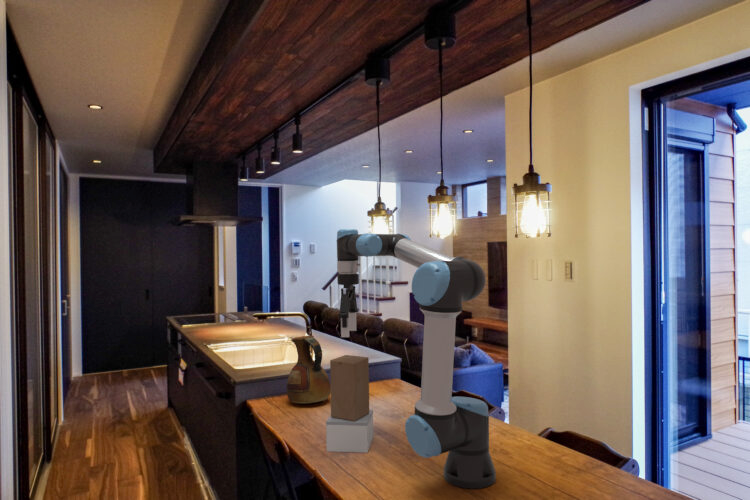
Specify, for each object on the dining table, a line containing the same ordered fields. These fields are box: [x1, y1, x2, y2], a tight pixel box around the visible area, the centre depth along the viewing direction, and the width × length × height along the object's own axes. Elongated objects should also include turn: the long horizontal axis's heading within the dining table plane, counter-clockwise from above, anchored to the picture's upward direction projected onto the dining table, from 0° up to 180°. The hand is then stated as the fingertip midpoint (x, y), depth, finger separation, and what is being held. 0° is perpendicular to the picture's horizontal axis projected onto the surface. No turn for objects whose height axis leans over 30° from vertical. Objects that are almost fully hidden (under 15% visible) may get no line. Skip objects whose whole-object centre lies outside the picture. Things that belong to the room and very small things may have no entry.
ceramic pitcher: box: [286, 335, 331, 404], centre depth 228 cm, size 20×20×30 cm
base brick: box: [325, 409, 374, 454], centre depth 177 cm, size 14×14×10 cm
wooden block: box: [329, 354, 370, 421], centre depth 177 cm, size 10×10×20 cm
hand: (349, 333), depth 177 cm, fingers open, 13 cm apart
